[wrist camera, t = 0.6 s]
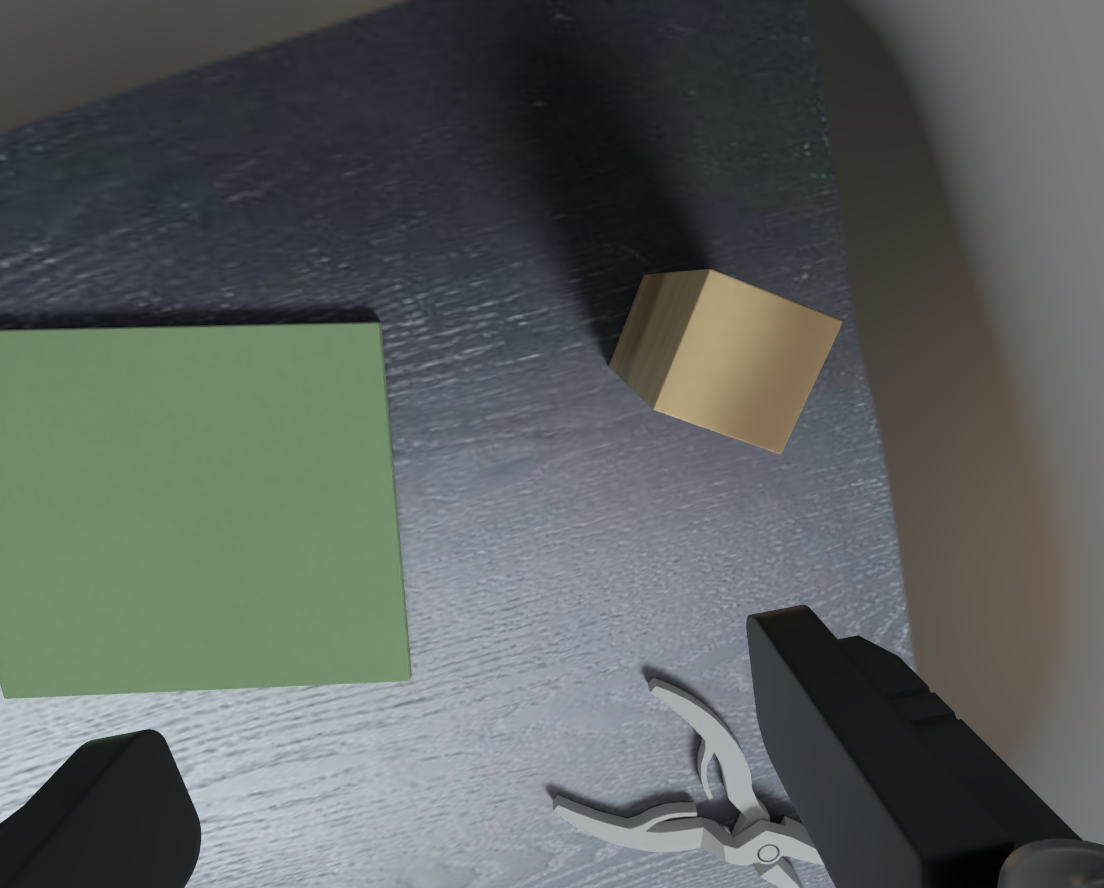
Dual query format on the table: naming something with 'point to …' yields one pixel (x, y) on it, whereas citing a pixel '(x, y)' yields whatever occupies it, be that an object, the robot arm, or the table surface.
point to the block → (723, 354)
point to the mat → (197, 510)
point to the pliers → (749, 836)
